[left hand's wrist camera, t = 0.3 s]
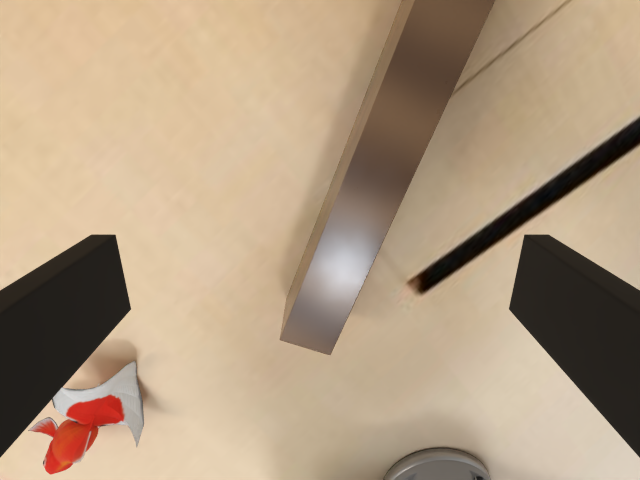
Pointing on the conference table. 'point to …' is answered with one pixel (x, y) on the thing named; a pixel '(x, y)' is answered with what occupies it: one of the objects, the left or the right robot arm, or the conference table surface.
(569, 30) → the conference table surface
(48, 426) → the fish
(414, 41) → the plank
